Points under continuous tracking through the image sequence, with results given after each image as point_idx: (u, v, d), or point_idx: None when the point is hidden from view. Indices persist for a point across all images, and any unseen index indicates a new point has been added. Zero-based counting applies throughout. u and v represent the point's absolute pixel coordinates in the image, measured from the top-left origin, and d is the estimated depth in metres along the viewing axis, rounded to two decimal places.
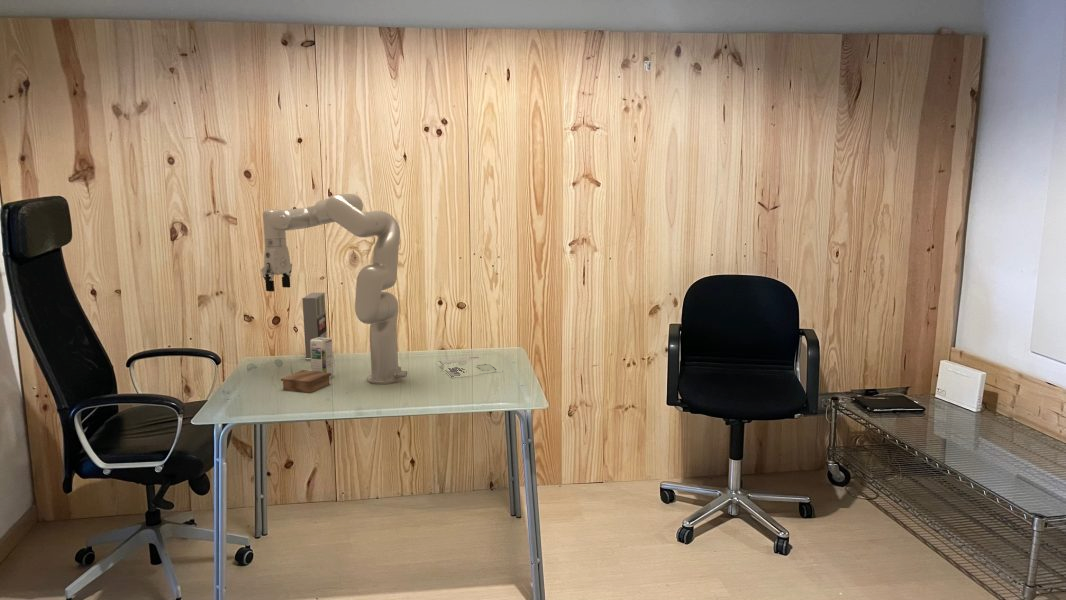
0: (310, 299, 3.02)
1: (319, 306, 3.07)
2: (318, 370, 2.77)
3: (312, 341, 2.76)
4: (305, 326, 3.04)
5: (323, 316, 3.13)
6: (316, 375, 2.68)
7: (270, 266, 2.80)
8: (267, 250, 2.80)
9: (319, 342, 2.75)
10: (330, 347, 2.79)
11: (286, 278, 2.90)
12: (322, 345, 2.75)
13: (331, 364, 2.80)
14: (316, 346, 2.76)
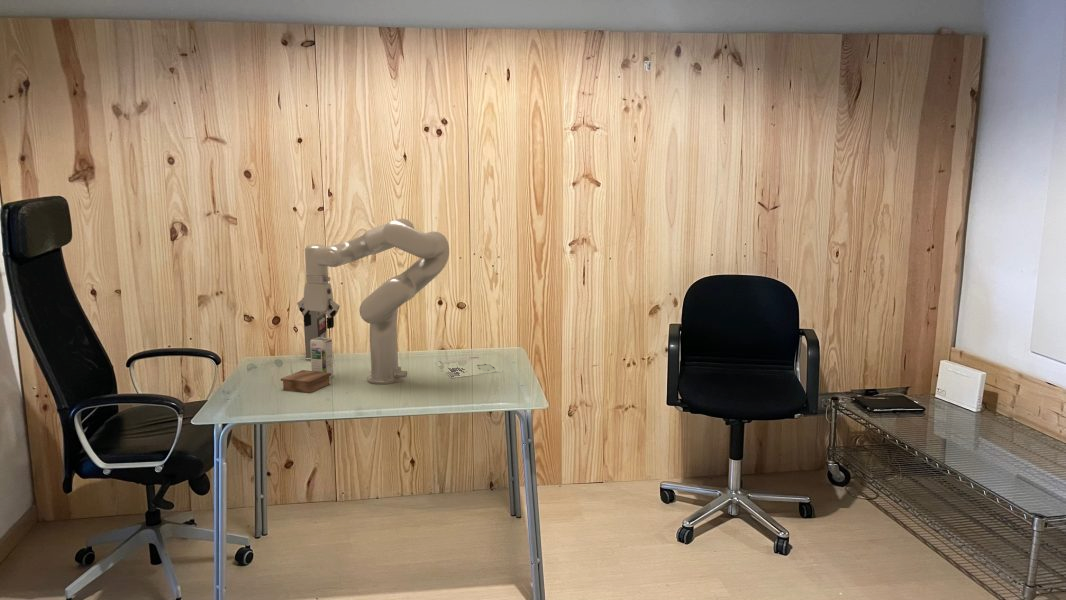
0: None
1: None
2: (318, 370, 2.77)
3: (312, 341, 2.76)
4: None
5: (323, 316, 3.13)
6: (316, 375, 2.68)
7: None
8: (327, 286, 2.73)
9: (319, 342, 2.75)
10: (330, 347, 2.79)
11: (309, 316, 2.79)
12: (322, 345, 2.75)
13: (331, 364, 2.80)
14: (316, 346, 2.76)
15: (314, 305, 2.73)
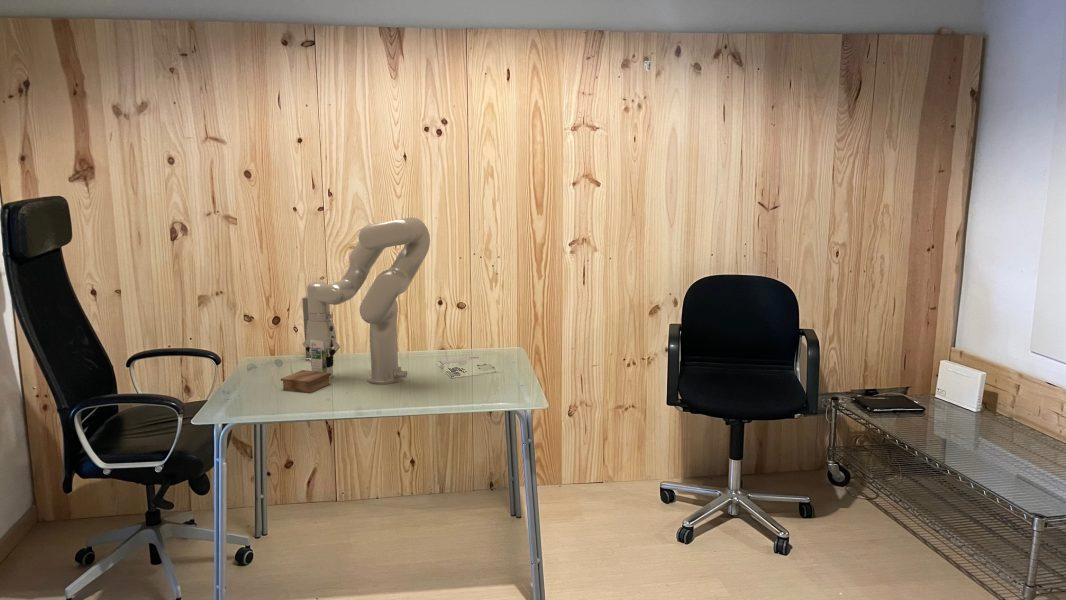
0: None
1: None
2: (318, 370, 2.77)
3: (312, 341, 2.76)
4: (305, 326, 3.04)
5: None
6: (316, 375, 2.68)
7: (334, 339, 2.77)
8: (330, 323, 2.75)
9: (319, 342, 2.75)
10: None
11: None
12: (322, 345, 2.75)
13: None
14: (316, 346, 2.76)
15: None
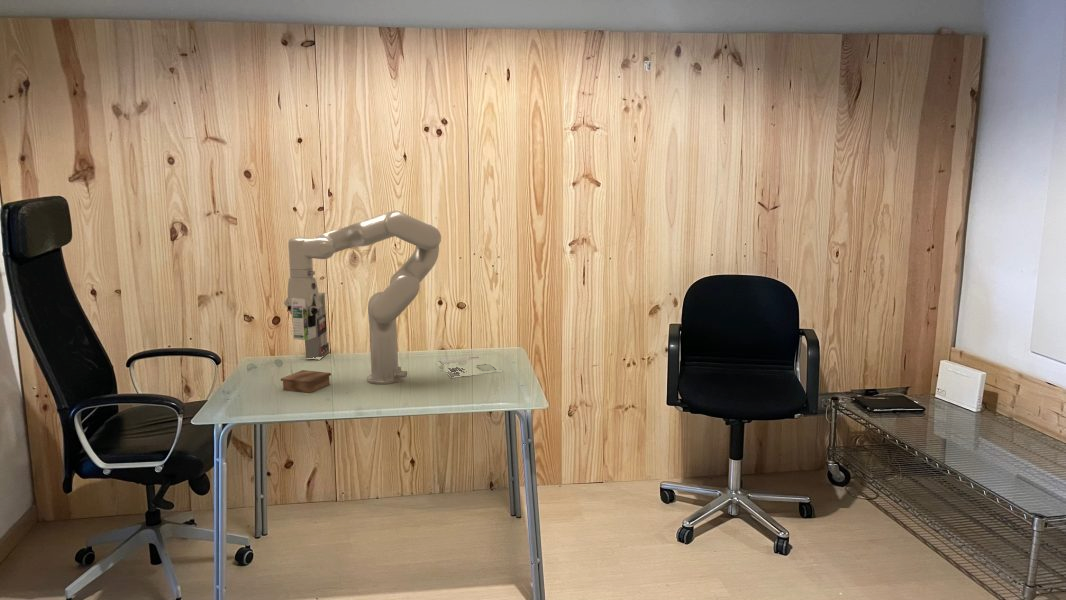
0: None
1: None
2: (299, 330, 2.63)
3: (293, 299, 2.62)
4: None
5: (323, 316, 3.13)
6: (316, 375, 2.68)
7: (316, 297, 2.63)
8: (312, 281, 2.61)
9: (300, 300, 2.61)
10: None
11: None
12: (303, 303, 2.61)
13: None
14: (297, 305, 2.62)
15: None
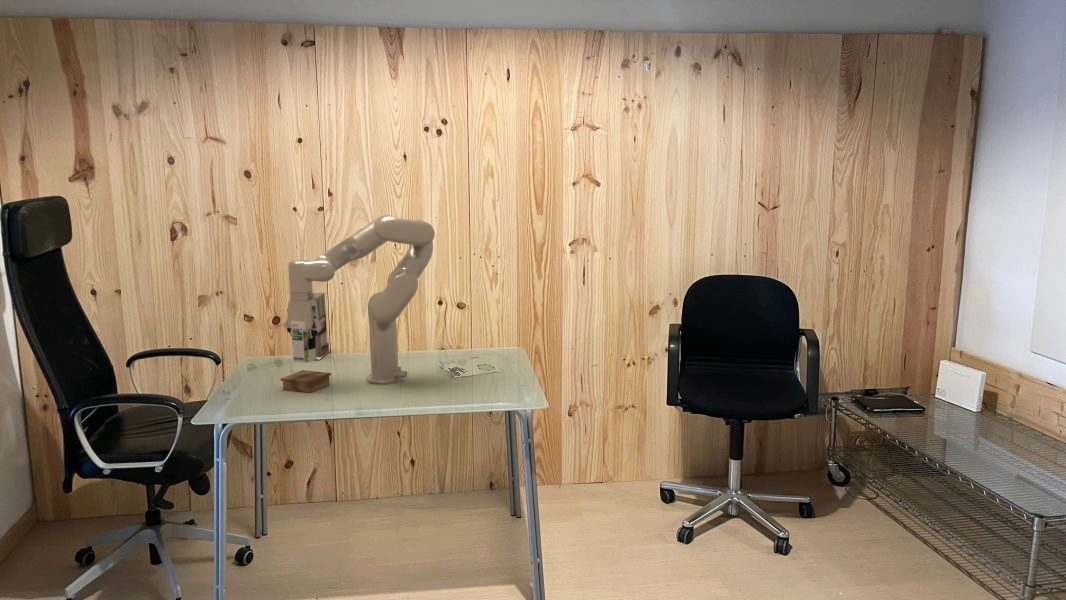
0: None
1: (319, 306, 3.07)
2: (299, 352, 2.63)
3: (293, 321, 2.63)
4: None
5: (323, 316, 3.13)
6: (316, 375, 2.68)
7: (316, 319, 2.63)
8: (312, 303, 2.62)
9: (300, 323, 2.62)
10: None
11: None
12: (304, 326, 2.61)
13: None
14: (297, 327, 2.62)
15: None
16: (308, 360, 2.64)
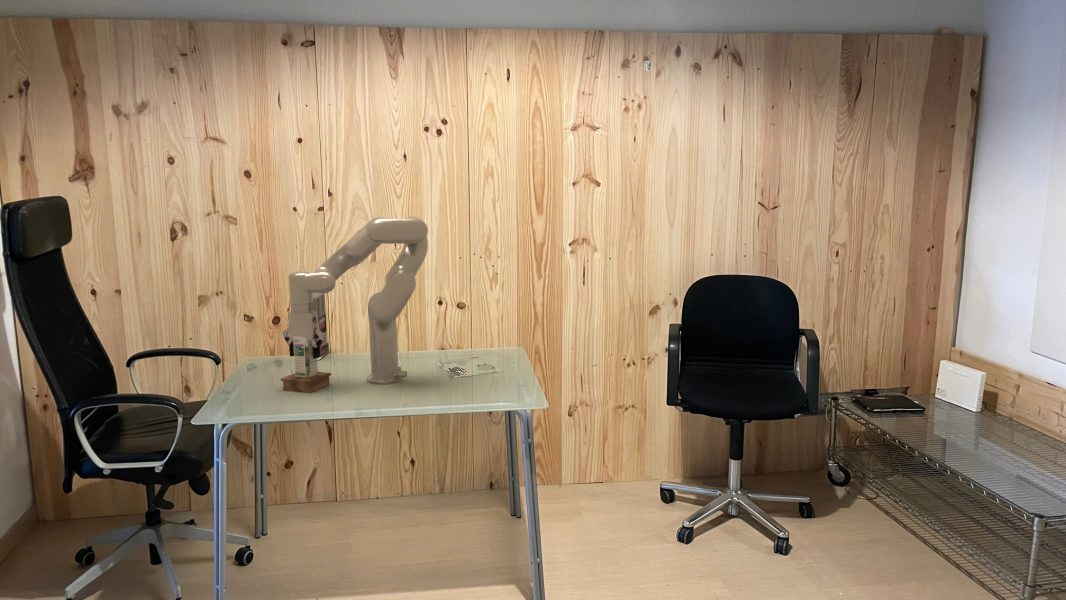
0: None
1: (319, 306, 3.07)
2: (301, 367, 2.64)
3: (295, 337, 2.64)
4: None
5: (323, 316, 3.13)
6: (316, 375, 2.68)
7: None
8: (312, 315, 2.62)
9: (302, 338, 2.63)
10: None
11: None
12: (305, 341, 2.62)
13: (315, 362, 2.67)
14: (299, 343, 2.63)
15: (299, 334, 2.63)
16: (310, 375, 2.65)
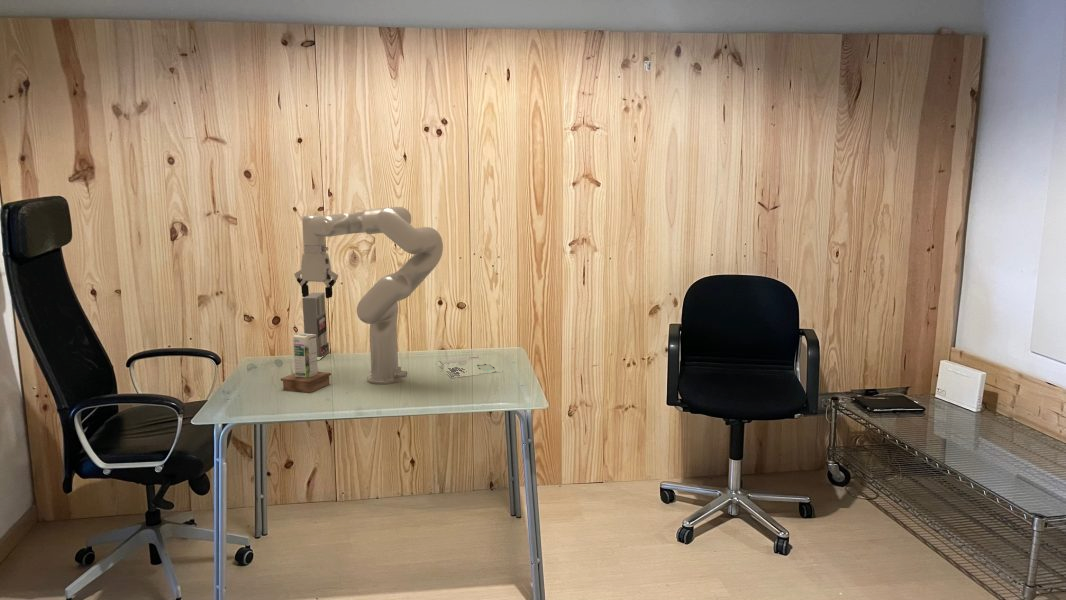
0: (310, 299, 3.02)
1: (319, 306, 3.07)
2: (301, 367, 2.64)
3: (295, 337, 2.64)
4: (305, 326, 3.04)
5: (323, 316, 3.13)
6: (316, 375, 2.68)
7: None
8: (325, 256, 2.75)
9: (302, 338, 2.63)
10: (314, 344, 2.66)
11: (307, 286, 2.80)
12: (305, 341, 2.62)
13: (315, 362, 2.67)
14: (299, 343, 2.63)
15: (312, 275, 2.75)
16: (310, 375, 2.65)
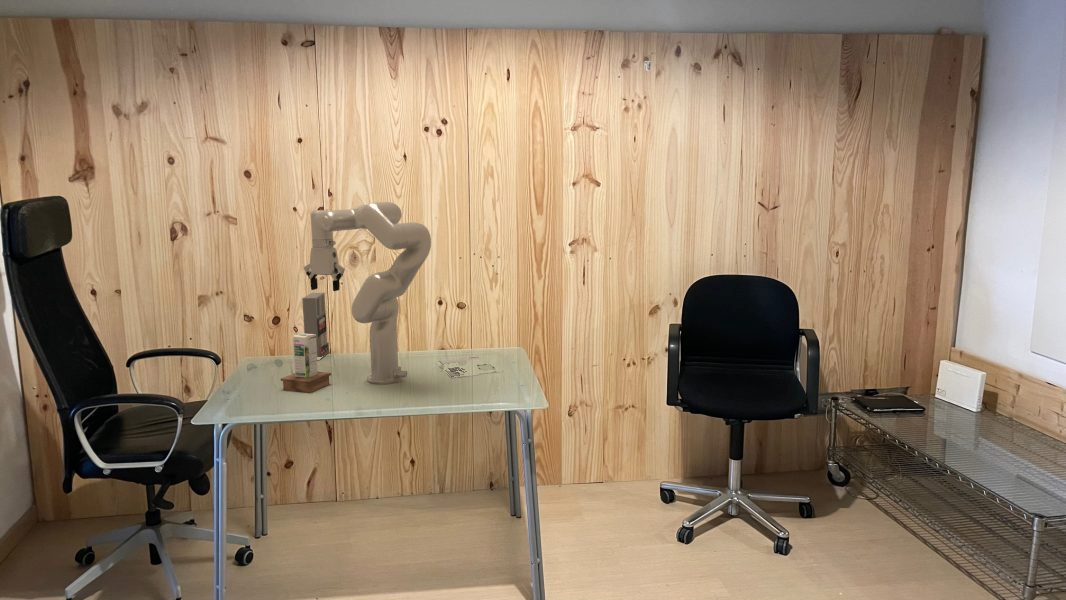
0: (310, 299, 3.02)
1: (319, 306, 3.07)
2: (301, 368, 2.64)
3: (295, 337, 2.64)
4: (305, 326, 3.04)
5: (323, 316, 3.13)
6: (316, 375, 2.68)
7: None
8: (333, 250, 2.83)
9: (302, 338, 2.63)
10: (314, 344, 2.66)
11: (315, 280, 2.89)
12: (305, 341, 2.62)
13: (315, 362, 2.67)
14: (299, 343, 2.63)
15: (320, 268, 2.83)
16: (310, 375, 2.65)
